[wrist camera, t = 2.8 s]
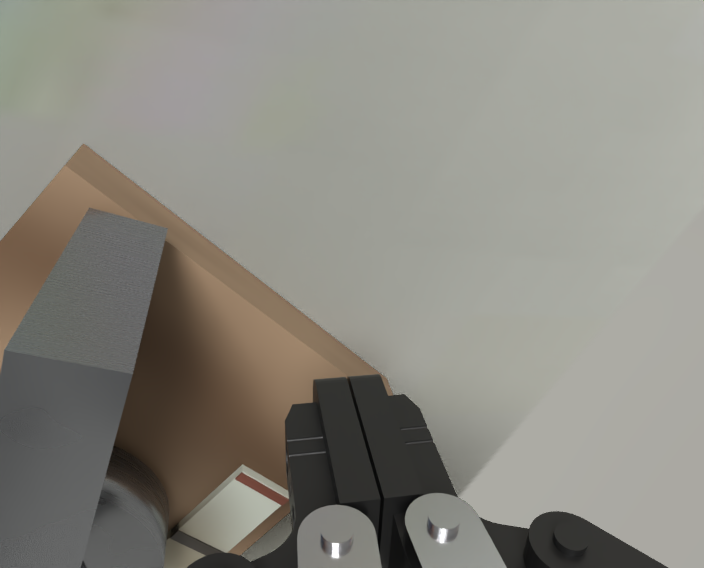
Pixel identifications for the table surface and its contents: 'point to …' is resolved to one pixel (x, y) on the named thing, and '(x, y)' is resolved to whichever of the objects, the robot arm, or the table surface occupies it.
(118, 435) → the stand
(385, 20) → the table surface
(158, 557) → the lever
